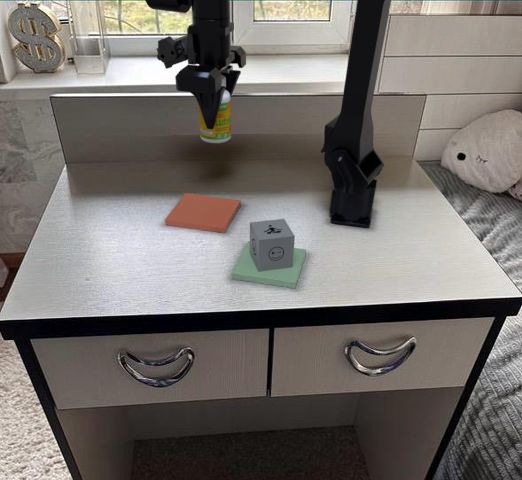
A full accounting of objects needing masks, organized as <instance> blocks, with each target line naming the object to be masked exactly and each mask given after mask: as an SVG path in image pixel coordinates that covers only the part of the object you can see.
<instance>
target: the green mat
mask: <svg viewBox="0 0 522 480" xmlns="http://www.w3.org/2000/svg"><path fill="white" fill-rule="evenodd" d="M306 256H307V249H305V248H299V247H294V253H293V266H292V267H291V268H283V269H276V270H268V271H260V272H258V270H257V268H256V266H255V264H254V261H253V259H252V257H251V255H250V240H247V242H246V244H245V246H244V249H243V250H242V253H240V256H239V258H238V260H237V262H236V264H235V267H234V268H233V270H232V273H231V280H232V279H233V280H237V281H238V280H239V281H243V282H244V281H245V282H250V283H257V284H264V285H271V286H275V287H276V286H277V287H282V288H283V287H284V288H290V289H296V287H297V284H298V282H299V281H298V280H299V278H300V274H301V271H302V268H303V265H304V262H305V259H306Z"/></svg>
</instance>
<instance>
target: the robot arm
mask: <svg viewBox="0 0 522 480" xmlns="http://www.w3.org/2000/svg"><path fill="white" fill-rule="evenodd" d="M144 1H145V3H146V5H147V6H148V7H149V8H150V9H151V10H156V11H162V12H163V11H164V12H171V13H180V14H186V13H188V12H189V11H190V9H191V17H192V23H191V24H189V25H188V27H186V34H185V35H183V36H180V37H177V38H175V39H173V37H172V36H171V35H168V36H166V37H164V38H161V39H159V40H157V47H156V52H157V55H156V58H157V60H158V61H161V62H162V63H163V64H164V68H165V69H171V68H173V66H175V65H178V64H180V63H183V62H186V61H187V65H185V66H184V67H182V68H181V69H180V70H179V71H178V73H176V75H175V76H174V78H175V90H176V91H177V92H184V93H185V92H186V93H190V94H191V95H192V96H193V97H195V99H196V102H197V105H198V104H199V106H198V108H199V107H200V109H201V112H202V115H203V118H204V121H205V124H206V127H207V129H213V128H214V126H215V122H216V119H217V116H218V112H219V108H220V105H221V101H222V98H223V94H224V91H225V90H227V91H228V92H229V93H230V97H231V98H232V96H233V94H234V91H235V88H236V86H237V83H238V80H239V78H240V76H241V73H242V71H241V70H237V69H234V66H233V65H237V67H238V69H243V68H244V67H245V66H246V65H247V52H246V50H244V48H243V47H242V46H241V45H232V43H231V42H232V41H231V40H232V39H231V36H232V35H231V33H232V32H233V31H235V22H233V21H232V22H231V0H144ZM391 4H392V0H356V7H355V14H354V21H353V28H352V34H351V41H350V48H349V53H348V54H349V55H348V59H347V67H346V72H345V73H346V74H345V80H344V86H343V95H342V101H341V107H340V112H339V114H337V115H336V116H334V118H332V119H331V120H330V121H329V122H327V123H326V124H325V125H324V132H323V134H324V136H323V138H324V141H323V146H322V148H321V150H320V153H321V154H323V153H324V154H323V156H324V157H323V158H324V159H323V160H324V161H323V162H324V164H325V166H326V167H327V169H328V170H329V171H330V174H331V175H330V176H331V179H332V183H333V186H332V190H331V195H330V204H329V211H328V213H329V215H331V216H330V223H331V224H336V225H337V224H339V225H344V226H345V225H347V226H352V227H361V228H370V227H371V222H372V216H373V210H374V209H373V207H374V201H375V196H376V191H377V190H376V189H377V184H378V179H376V178H377V177H378V176H379V175H380V173H381V172H382V170H383V169H384V166H385V164H384V161H383V160H382V159H381V157H380V156H379V154H378V153H377V151H376V150H375V148H374V132H375V131H374V123H373V116H372V105H373V101H374V95H375V89H376V84H377V79H378V75H379V74H378V73H379V68H380V62H381V58H382V53H383V46H384V43H385V36H386V31H387V26H388V21H389V15H390V9H391ZM222 75H223V76H225V77H226V87H225V86H221V84H222Z"/></svg>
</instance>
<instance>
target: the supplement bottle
mask: <svg viewBox="0 0 522 480" xmlns="http://www.w3.org/2000/svg"><path fill="white" fill-rule="evenodd" d="M221 86H225V87H226V77H225V76H223V75H222V84H221ZM231 100H232V96H231V97H230V93H229V92H228V91H227V90H225V91H224V94H223V98H222V101H221V105H220V108H219V112H218V116H217V119H216V122H215V126H214V128H213V129H207V127H206V124H205V121H204V118H203V115H202V112H201V109H200V107H199V104H198V103H197V105H198V119H199V121H198V122H199V136H200V139H201V140H202V141H203V142H206V143H211V144H222V143H223V144H224V143H226V142H228V141H230V140H231V138H232V101H231Z"/></svg>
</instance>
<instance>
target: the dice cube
mask: <svg viewBox="0 0 522 480" xmlns="http://www.w3.org/2000/svg"><path fill="white" fill-rule="evenodd" d="M295 237H296V235H295V233H294V232H293V231H292V229H291V227H290V226H289V224H288V223H287V221H286V219H285V218H278V219H269V220H260V221H259V220H258V221H251V222H249V241H250V255H251V257H252V259H253V261H254V264H255V266H256V268H257V270H258V272H260V271H268V270H276V269H283V268H291V267H292V266H293V253H294V248H295V240H296V239H295Z"/></svg>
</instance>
